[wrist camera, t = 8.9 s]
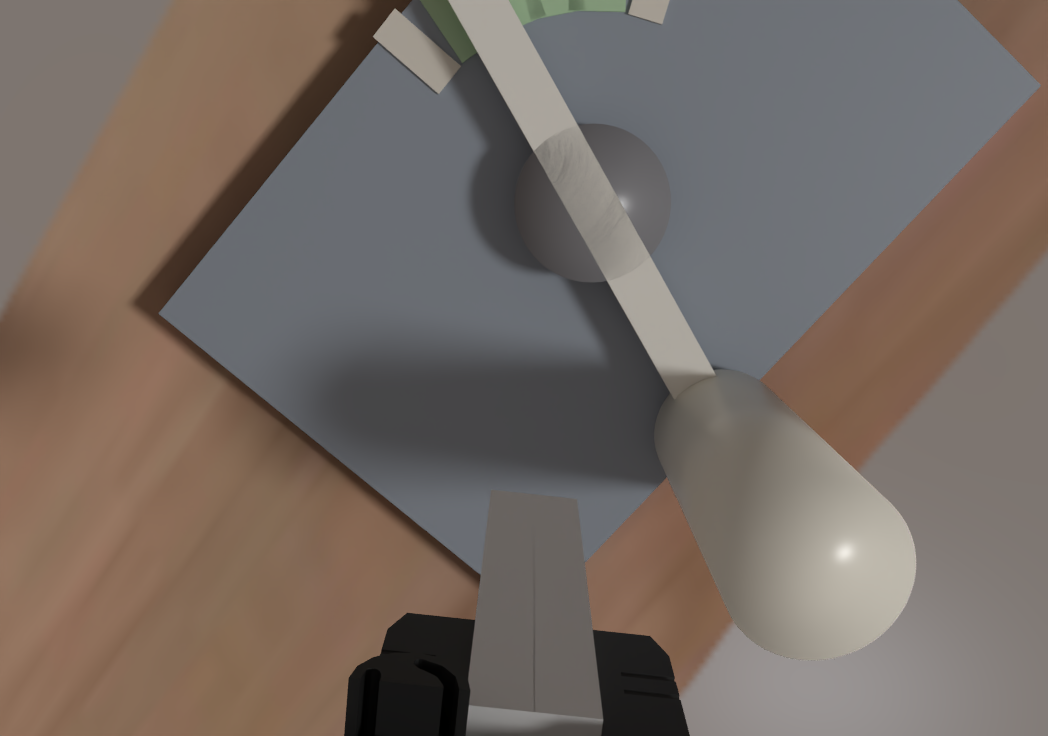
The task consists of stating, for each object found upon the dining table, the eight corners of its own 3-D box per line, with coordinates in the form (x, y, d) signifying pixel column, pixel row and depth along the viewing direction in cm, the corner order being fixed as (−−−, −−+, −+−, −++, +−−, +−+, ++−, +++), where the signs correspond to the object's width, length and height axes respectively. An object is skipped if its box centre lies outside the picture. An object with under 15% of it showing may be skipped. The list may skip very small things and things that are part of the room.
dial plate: (647, -291, 27) (653, -312, 26) (1020, 88, 29) (1042, 85, 28) (167, 302, 30) (151, 309, 29) (532, 600, 33) (532, 618, 31)
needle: (365, -34, 27) (275, -142, 17) (503, -122, 26) (493, -285, 17) (687, 521, 30) (766, 696, 20) (814, 452, 30) (957, 599, 20)
